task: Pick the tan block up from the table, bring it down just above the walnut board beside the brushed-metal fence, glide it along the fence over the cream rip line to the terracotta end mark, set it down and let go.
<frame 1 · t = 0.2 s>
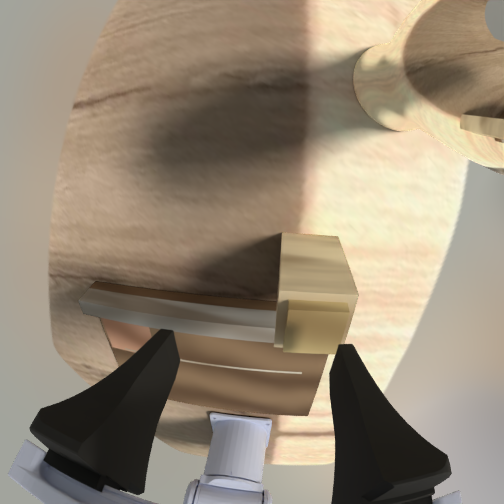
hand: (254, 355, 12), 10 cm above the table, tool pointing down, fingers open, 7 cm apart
tan block: (307, 259, 21), on the table
board: (210, 358, 27), on the table
beer glass: (395, 87, 14), on the table
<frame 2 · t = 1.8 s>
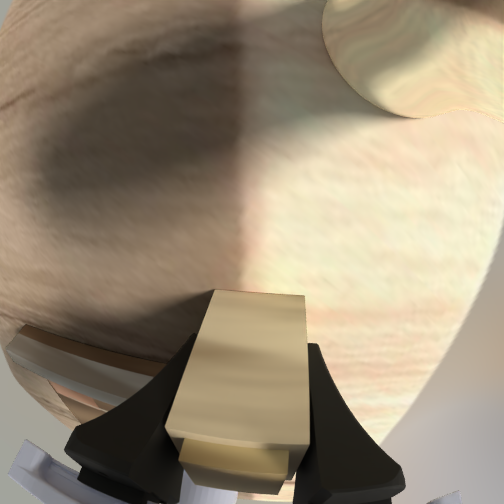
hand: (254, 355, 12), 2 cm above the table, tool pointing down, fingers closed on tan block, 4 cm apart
tan block: (258, 326, 13), on the table, touching gripper
board: (158, 417, 20), on the table
beer glass: (399, 43, 7), on the table
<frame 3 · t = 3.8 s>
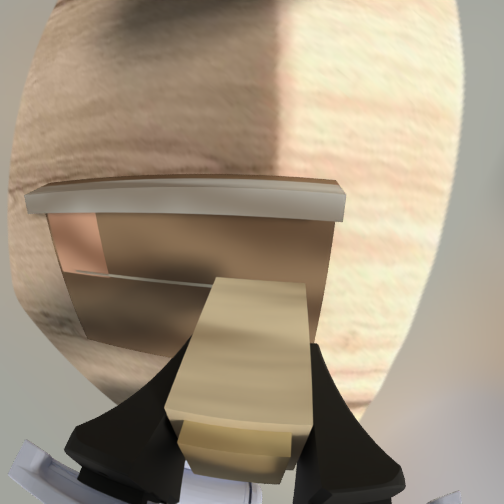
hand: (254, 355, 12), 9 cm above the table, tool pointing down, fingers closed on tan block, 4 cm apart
tan block: (259, 315, 14), point 6 cm above the table, touching gripper
board: (174, 278, 21), on the table
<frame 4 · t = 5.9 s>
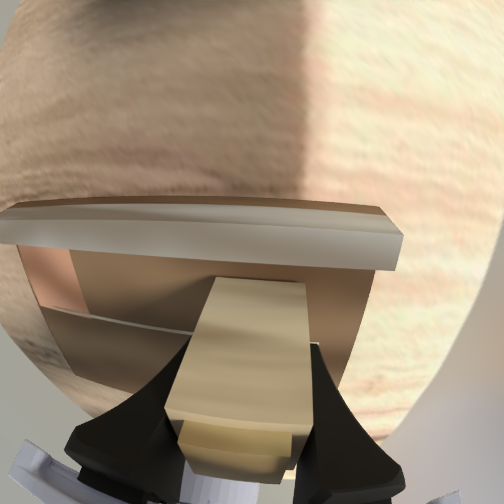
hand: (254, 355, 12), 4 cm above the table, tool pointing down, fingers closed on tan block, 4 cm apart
tan block: (259, 315, 14), point 2 cm above the table, touching gripper
board: (168, 322, 17), on the table
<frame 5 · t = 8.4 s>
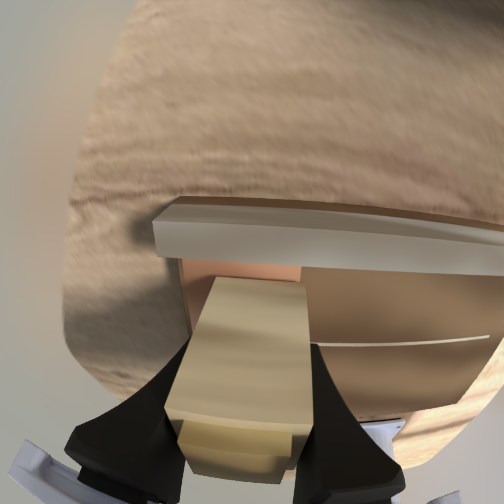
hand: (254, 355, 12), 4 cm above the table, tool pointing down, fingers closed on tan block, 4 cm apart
tan block: (259, 314, 14), point 2 cm above the table, touching gripper
board: (375, 336, 16), on the table
when the fingers open (4 cm above the table, at t = 10.0 s): tan block stays where it is, resting on board.
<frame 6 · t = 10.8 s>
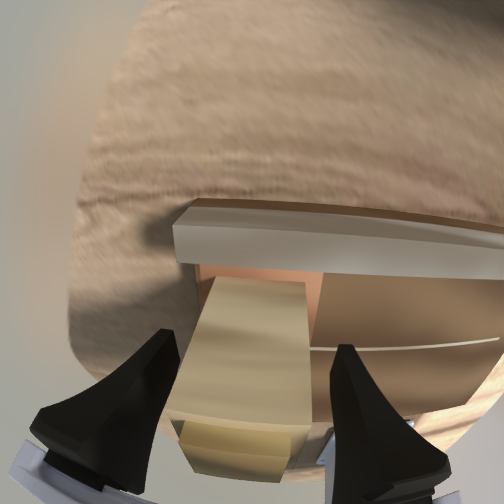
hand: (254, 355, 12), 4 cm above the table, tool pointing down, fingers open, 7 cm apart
tan block: (259, 313, 14), point 1 cm above the table, touching board
board: (390, 340, 15), on the table
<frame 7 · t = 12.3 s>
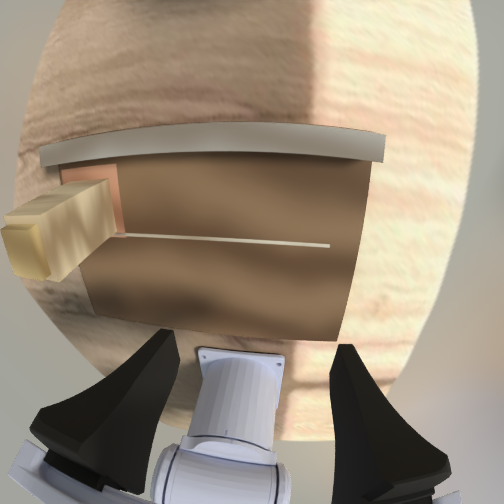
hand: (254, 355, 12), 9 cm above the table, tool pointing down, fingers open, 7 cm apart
tan block: (91, 205, 18), point 1 cm above the table, touching board
board: (198, 237, 20), on the table
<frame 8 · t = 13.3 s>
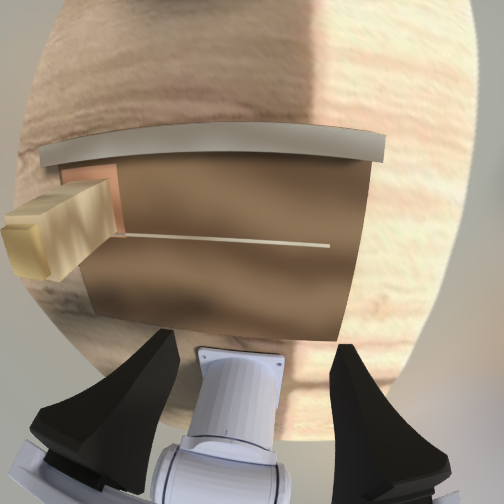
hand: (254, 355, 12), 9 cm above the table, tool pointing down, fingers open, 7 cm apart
tan block: (91, 205, 18), point 1 cm above the table, touching board
board: (198, 237, 20), on the table
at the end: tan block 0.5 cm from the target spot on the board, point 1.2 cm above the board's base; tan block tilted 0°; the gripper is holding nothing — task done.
